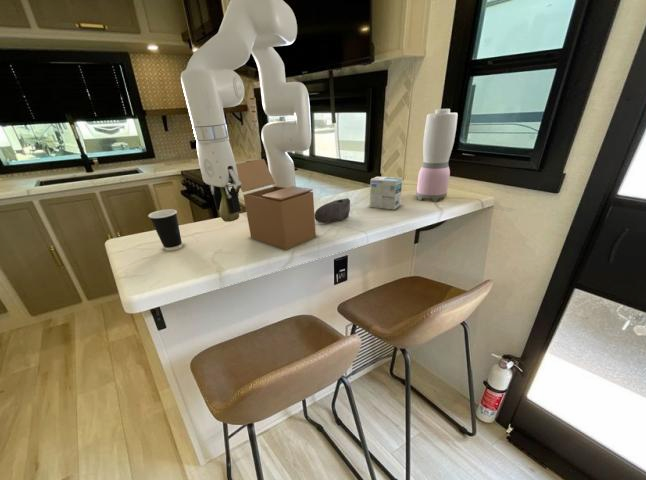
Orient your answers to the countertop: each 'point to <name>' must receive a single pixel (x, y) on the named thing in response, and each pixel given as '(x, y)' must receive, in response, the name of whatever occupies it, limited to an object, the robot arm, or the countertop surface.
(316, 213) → the perforated stone tool
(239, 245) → the countertop surface
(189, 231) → the countertop surface
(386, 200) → the light bulb box
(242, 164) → the flap
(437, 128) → the blender
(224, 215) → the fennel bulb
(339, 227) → the countertop surface
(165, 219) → the dixie cup
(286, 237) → the carton
